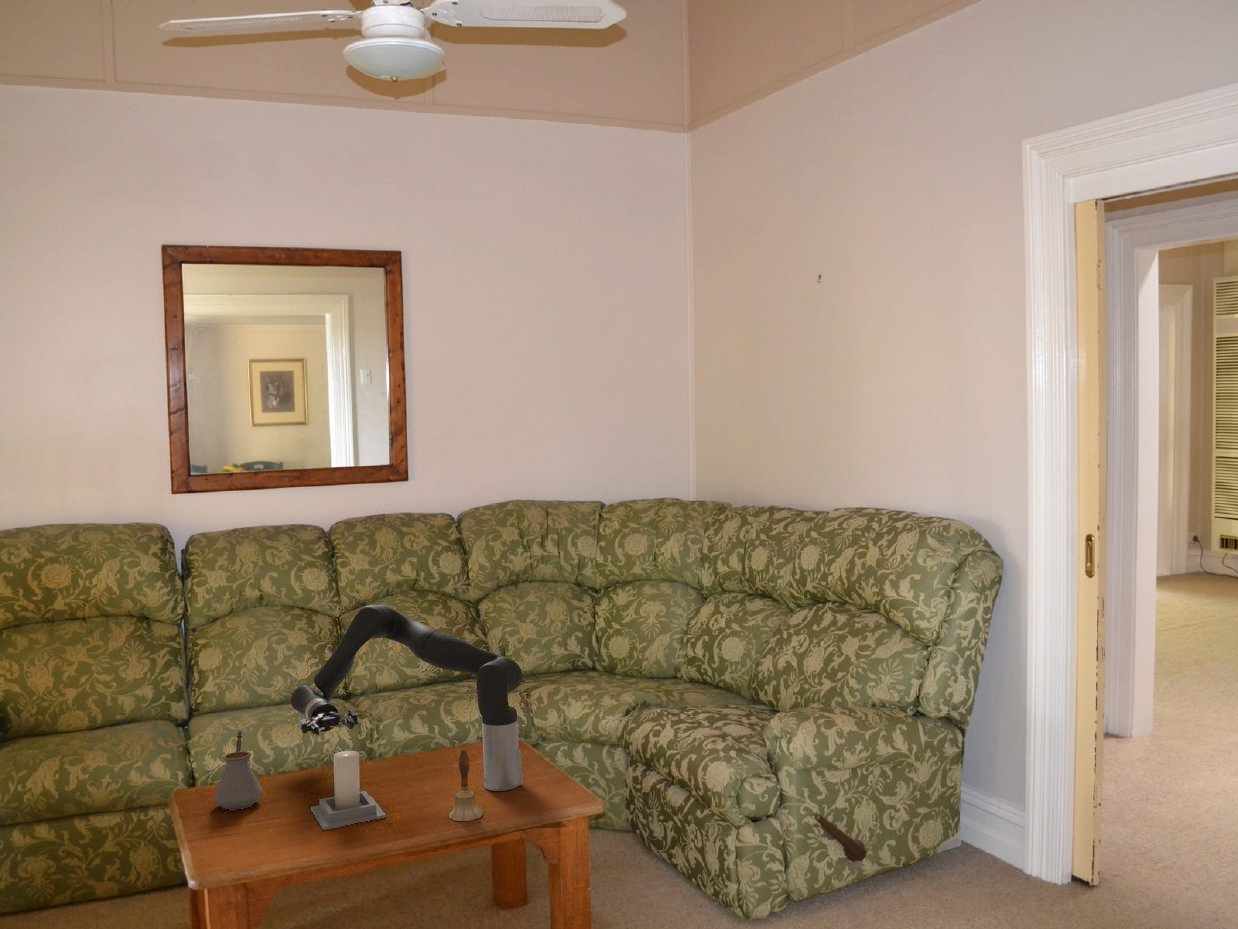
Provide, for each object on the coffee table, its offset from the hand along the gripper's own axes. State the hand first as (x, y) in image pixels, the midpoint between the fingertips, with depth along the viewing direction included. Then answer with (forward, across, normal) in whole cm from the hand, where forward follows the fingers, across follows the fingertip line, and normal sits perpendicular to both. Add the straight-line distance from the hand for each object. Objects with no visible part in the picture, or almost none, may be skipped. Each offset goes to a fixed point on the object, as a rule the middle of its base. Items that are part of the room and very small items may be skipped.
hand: (334, 728), depth 270 cm
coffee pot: (-14, -22, +18) cm, 32 cm away
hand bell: (+28, +25, +19) cm, 42 cm away
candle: (+12, 0, +18) cm, 21 cm away
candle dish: (+12, 0, +18) cm, 22 cm away
